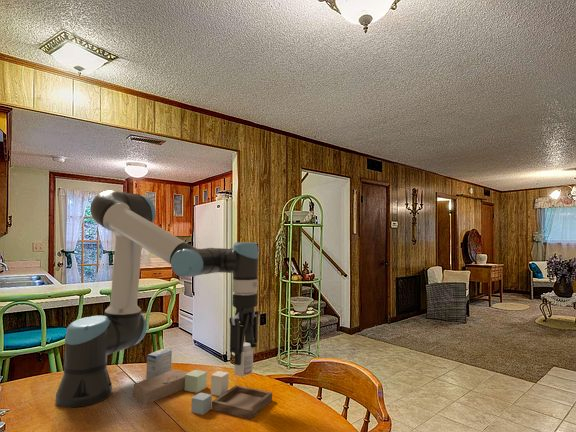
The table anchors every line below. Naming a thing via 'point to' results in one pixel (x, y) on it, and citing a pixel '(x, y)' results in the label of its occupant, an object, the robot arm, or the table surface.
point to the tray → (242, 401)
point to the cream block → (219, 383)
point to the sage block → (195, 381)
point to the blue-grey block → (201, 403)
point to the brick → (159, 386)
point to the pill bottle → (247, 358)
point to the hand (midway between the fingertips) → (243, 371)
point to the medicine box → (158, 363)
